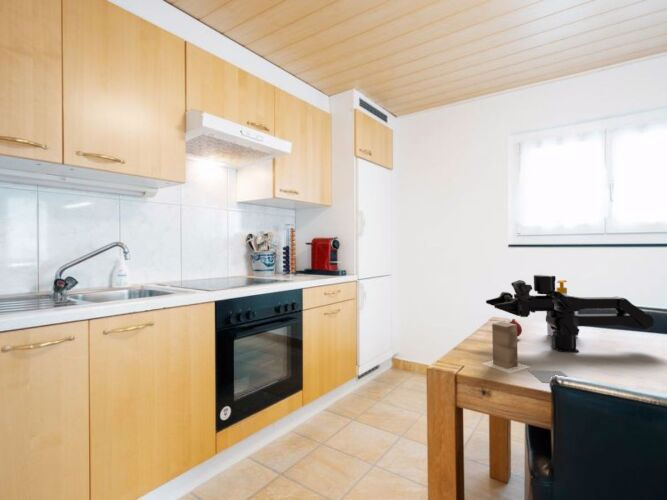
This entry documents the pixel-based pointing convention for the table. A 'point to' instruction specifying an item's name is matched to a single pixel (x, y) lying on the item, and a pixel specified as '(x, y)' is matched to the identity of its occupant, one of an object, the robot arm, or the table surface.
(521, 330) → the onion
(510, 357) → the walnut post
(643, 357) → the table surface
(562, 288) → the soap bottle
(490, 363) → the tile
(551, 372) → the grey pad
